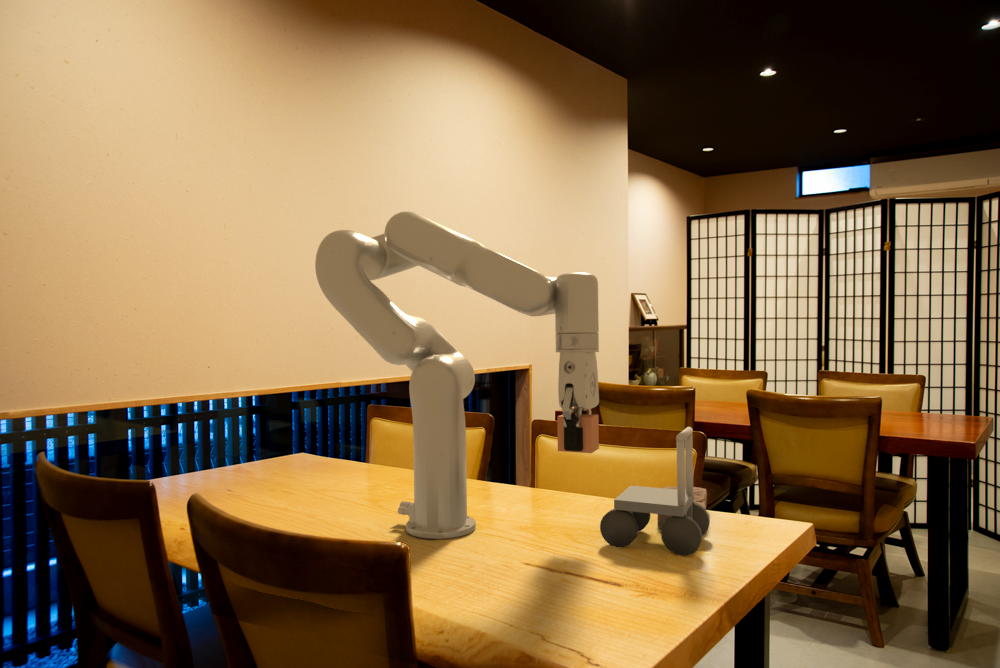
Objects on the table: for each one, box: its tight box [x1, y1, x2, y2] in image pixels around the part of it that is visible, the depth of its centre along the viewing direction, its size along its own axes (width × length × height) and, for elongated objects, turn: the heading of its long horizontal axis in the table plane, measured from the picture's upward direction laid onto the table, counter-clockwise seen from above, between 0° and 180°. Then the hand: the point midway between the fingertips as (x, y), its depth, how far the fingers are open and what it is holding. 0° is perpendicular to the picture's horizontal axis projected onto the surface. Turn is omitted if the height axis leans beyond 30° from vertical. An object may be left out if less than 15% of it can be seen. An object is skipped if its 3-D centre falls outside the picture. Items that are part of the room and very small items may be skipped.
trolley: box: [599, 426, 711, 557], centre depth 105 cm, size 16×11×19 cm
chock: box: [556, 413, 600, 454], centre depth 110 cm, size 6×5×6 cm
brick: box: [656, 486, 708, 530], centre depth 119 cm, size 17×8×5 cm, turn 161°
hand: (578, 446), depth 110 cm, fingers closed on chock, 5 cm apart
